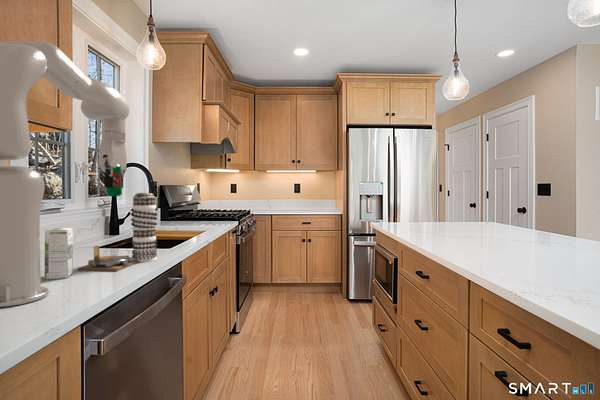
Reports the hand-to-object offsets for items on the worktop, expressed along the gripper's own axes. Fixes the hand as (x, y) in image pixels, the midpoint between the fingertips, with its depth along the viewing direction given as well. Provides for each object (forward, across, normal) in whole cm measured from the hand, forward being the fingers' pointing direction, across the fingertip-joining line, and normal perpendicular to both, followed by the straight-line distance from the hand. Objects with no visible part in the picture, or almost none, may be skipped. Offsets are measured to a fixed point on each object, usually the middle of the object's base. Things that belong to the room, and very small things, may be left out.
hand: (113, 187), depth 122 cm
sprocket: (+26, +8, +4) cm, 27 cm away
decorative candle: (+27, -3, +10) cm, 29 cm away
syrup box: (+27, +23, -3) cm, 36 cm away
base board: (+27, +9, +4) cm, 29 cm away
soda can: (+3, 0, 0) cm, 3 cm away
